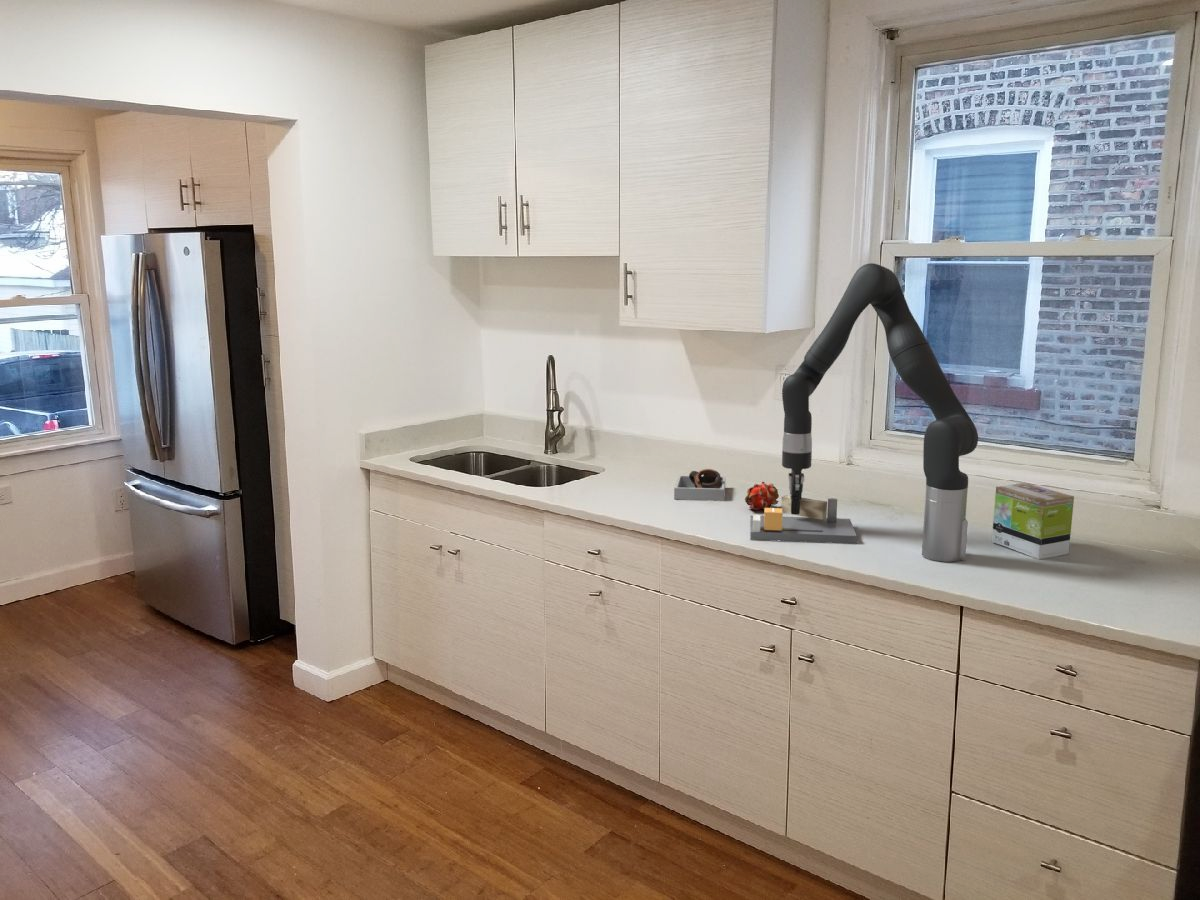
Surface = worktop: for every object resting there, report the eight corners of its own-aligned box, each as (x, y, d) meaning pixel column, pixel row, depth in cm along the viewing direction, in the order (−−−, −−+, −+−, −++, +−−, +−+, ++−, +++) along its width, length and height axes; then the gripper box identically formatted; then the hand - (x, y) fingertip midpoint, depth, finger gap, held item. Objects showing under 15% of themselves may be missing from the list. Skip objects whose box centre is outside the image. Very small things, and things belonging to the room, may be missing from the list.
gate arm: (826, 517, 250) (827, 501, 249) (822, 519, 248) (823, 503, 247) (785, 510, 257) (785, 495, 256) (781, 512, 255) (781, 496, 254)
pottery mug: (729, 492, 290) (729, 472, 285) (712, 510, 285) (711, 491, 280) (696, 477, 297) (696, 458, 291) (679, 495, 291) (678, 476, 286)
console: (849, 526, 251) (850, 496, 249) (856, 543, 235) (857, 512, 234) (750, 522, 255) (751, 493, 253) (750, 539, 239) (751, 509, 238)
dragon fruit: (779, 511, 271) (749, 524, 265) (761, 490, 276) (731, 502, 269) (791, 492, 265) (760, 505, 259) (771, 471, 270) (741, 483, 263)
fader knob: (781, 525, 243) (781, 507, 242) (781, 530, 238) (782, 512, 237) (764, 525, 243) (764, 507, 242) (764, 529, 239) (764, 511, 238)
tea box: (989, 543, 235) (994, 485, 232) (1020, 538, 239) (1024, 481, 236) (1039, 560, 221) (1044, 499, 218) (1070, 555, 225) (1076, 494, 222)
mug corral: (725, 487, 294) (725, 476, 293) (723, 500, 278) (724, 489, 277) (678, 486, 296) (678, 475, 295) (674, 499, 280) (674, 488, 279)
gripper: (813, 454, 239) (811, 520, 243) (810, 444, 252) (808, 508, 256) (783, 453, 241) (781, 519, 244) (781, 444, 253) (779, 507, 257)
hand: (795, 513), depth 250 cm, fingers closed
